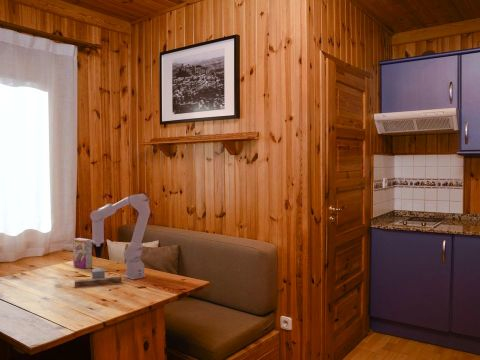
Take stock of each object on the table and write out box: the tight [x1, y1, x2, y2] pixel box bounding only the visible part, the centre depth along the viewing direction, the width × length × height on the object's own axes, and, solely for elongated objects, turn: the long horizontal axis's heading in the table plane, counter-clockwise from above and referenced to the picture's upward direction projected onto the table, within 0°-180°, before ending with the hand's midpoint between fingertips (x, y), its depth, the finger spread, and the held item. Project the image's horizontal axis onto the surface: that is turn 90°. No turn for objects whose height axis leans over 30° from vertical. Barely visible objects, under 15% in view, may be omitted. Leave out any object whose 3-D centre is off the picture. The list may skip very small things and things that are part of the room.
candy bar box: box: [72, 237, 93, 270], centre depth 246 cm, size 11×5×16 cm, turn 58°
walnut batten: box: [74, 276, 123, 288], centre depth 211 cm, size 22×3×2 cm, turn 108°
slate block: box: [91, 267, 106, 279], centre depth 220 cm, size 6×6×5 cm
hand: (98, 257), depth 229 cm, fingers closed
